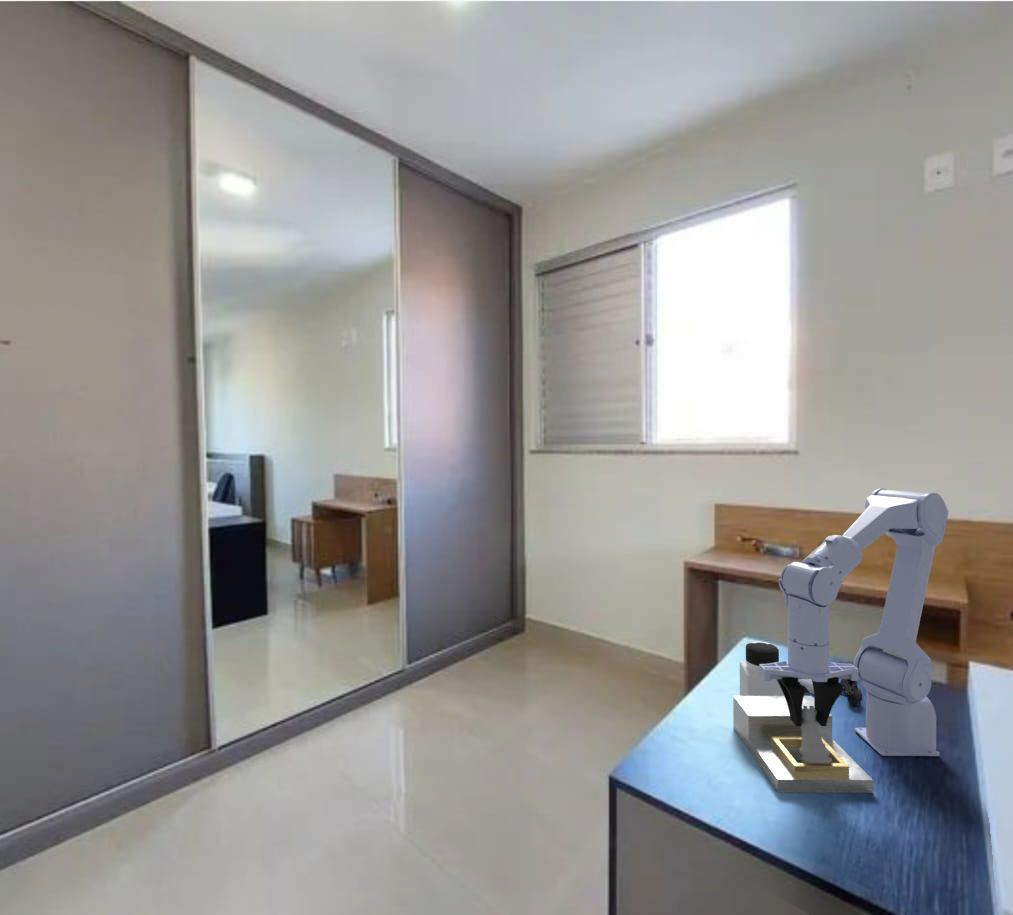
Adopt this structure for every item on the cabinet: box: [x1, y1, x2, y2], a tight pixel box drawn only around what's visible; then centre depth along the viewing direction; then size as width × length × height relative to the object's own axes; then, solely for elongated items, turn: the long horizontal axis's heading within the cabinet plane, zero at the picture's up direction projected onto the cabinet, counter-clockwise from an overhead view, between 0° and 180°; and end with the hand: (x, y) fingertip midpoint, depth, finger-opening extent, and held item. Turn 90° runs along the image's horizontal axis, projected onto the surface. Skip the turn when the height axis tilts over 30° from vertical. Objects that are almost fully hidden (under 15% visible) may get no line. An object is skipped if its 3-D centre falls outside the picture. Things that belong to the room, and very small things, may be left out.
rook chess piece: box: [800, 706, 832, 764], centre depth 85 cm, size 4×4×8 cm
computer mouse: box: [798, 679, 862, 708], centre depth 114 cm, size 10×18×4 cm, turn 55°
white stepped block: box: [732, 695, 874, 794], centre depth 90 cm, size 14×18×6 cm
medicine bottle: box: [739, 640, 784, 696], centre depth 108 cm, size 7×7×12 cm
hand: (808, 723), depth 86 cm, fingers open, 3 cm apart
